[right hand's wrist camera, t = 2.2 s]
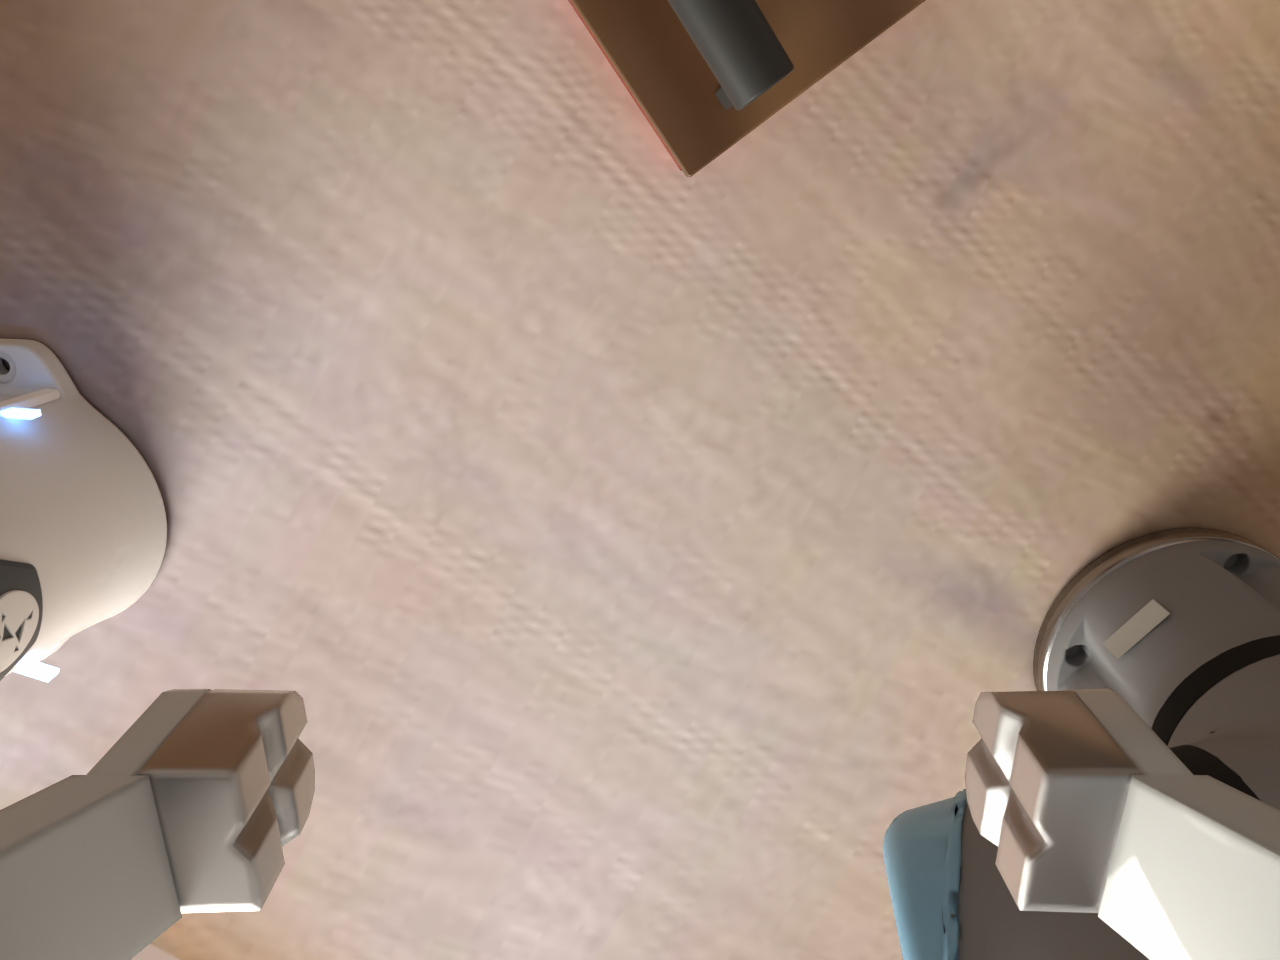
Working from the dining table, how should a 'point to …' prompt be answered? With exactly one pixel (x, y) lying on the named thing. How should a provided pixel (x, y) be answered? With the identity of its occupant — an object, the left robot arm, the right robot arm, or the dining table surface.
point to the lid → (727, 59)
